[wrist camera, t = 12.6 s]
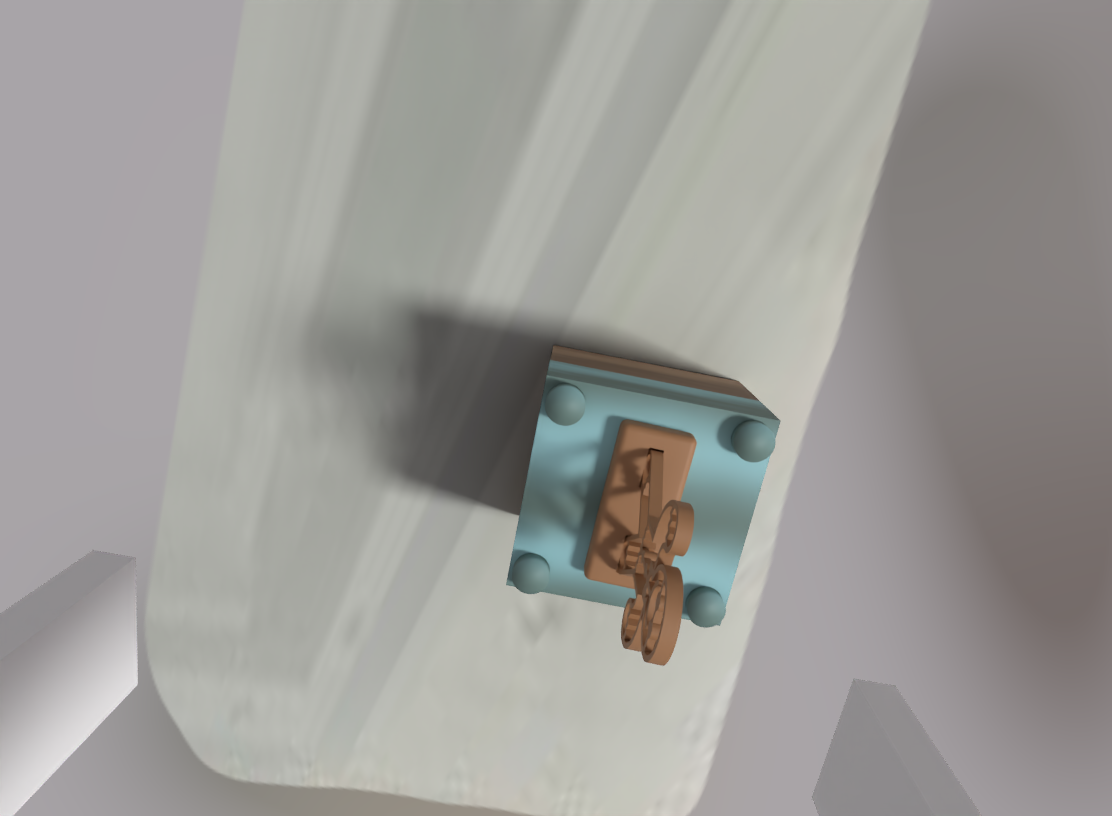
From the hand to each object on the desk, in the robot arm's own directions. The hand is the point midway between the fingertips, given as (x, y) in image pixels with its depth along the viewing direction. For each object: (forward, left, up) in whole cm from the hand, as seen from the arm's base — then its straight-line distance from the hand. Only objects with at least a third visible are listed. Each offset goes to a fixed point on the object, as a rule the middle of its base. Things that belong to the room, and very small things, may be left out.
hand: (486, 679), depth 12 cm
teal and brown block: (+5, +6, -31) cm, 32 cm away
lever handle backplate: (+5, +6, -22) cm, 24 cm away
